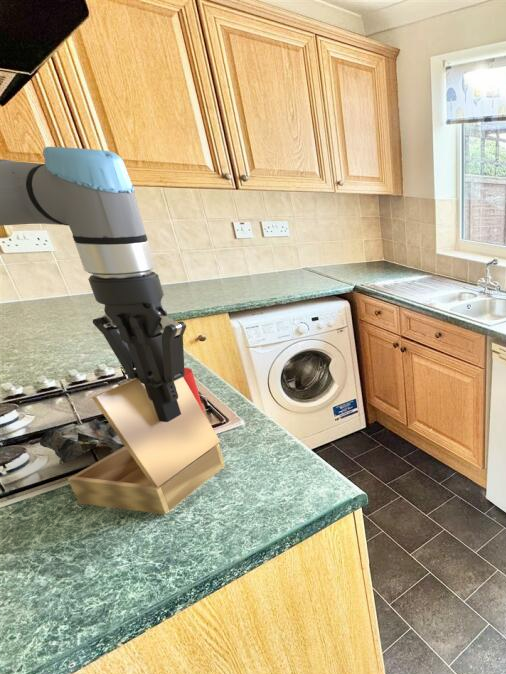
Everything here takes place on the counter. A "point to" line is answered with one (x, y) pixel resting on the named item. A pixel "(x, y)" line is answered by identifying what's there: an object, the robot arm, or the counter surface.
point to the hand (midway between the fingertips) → (170, 417)
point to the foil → (80, 439)
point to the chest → (141, 482)
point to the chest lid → (157, 429)
